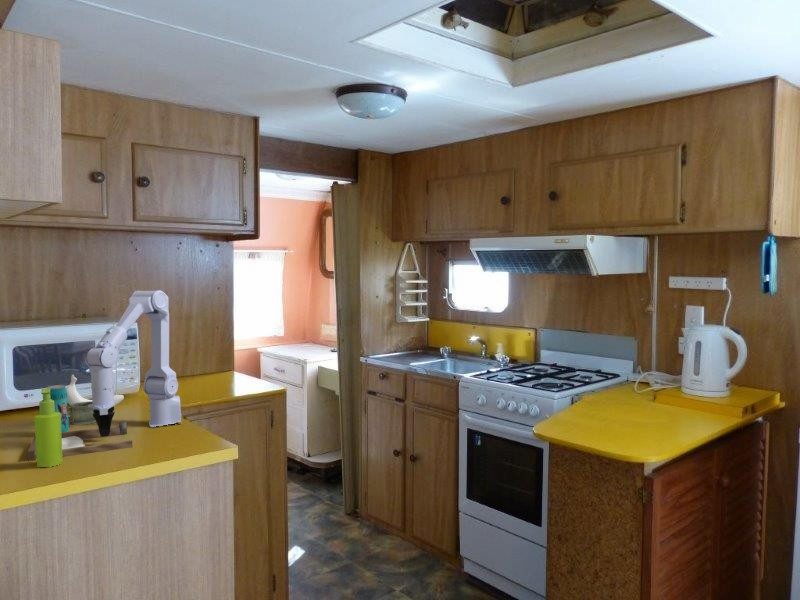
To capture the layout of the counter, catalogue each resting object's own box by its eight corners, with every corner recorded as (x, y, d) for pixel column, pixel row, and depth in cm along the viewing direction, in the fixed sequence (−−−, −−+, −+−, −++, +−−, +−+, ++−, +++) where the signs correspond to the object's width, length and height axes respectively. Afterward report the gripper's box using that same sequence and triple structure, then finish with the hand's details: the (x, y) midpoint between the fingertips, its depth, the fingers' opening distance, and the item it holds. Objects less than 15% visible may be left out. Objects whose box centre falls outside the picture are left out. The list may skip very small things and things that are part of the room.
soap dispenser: (36, 470, 156) (31, 392, 155) (37, 463, 162) (33, 387, 161) (62, 466, 158) (58, 389, 158) (63, 459, 165) (59, 385, 164)
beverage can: (59, 437, 188) (57, 388, 188) (43, 436, 189) (41, 388, 189) (73, 432, 194) (71, 384, 193) (57, 431, 195) (55, 384, 194)
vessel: (65, 427, 201) (64, 408, 200) (64, 422, 208) (63, 403, 208) (106, 422, 207) (105, 403, 206) (103, 417, 214) (102, 399, 214)
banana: (124, 410, 225) (123, 370, 224) (65, 417, 215) (63, 375, 215) (123, 407, 229) (121, 368, 228) (65, 414, 219) (63, 373, 219)
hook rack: (129, 432, 192) (129, 421, 192) (132, 447, 175) (132, 434, 175) (35, 443, 181) (34, 432, 181) (28, 460, 164) (27, 447, 164)
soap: (53, 455, 170) (52, 444, 170) (43, 450, 175) (43, 440, 175) (86, 447, 177) (86, 437, 177) (77, 443, 182) (76, 434, 181)
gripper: (87, 385, 184) (90, 430, 185) (86, 394, 171) (89, 442, 172) (113, 383, 187) (115, 427, 188) (114, 391, 174) (116, 438, 175)
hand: (105, 434), depth 180 cm, fingers open, 4 cm apart
